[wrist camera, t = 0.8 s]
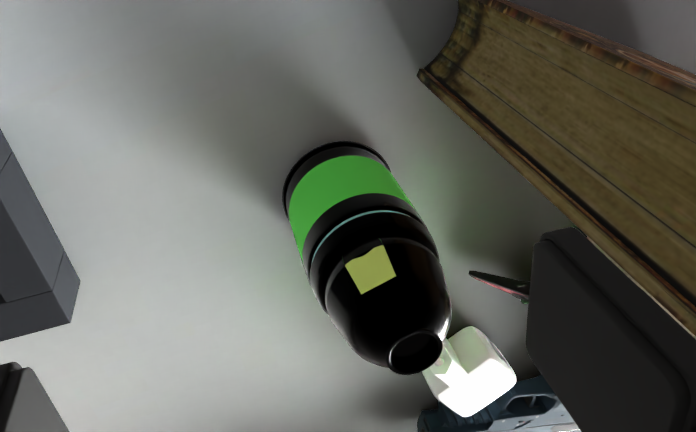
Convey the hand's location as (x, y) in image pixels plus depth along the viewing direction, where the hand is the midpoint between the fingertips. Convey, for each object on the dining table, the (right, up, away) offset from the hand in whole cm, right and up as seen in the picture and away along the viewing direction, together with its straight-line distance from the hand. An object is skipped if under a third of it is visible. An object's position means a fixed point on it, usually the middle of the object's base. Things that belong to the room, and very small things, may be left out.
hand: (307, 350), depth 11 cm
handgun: (+18, -8, +37) cm, 41 cm away
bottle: (0, +4, +27) cm, 27 cm away
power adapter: (+12, -7, +34) cm, 37 cm away
